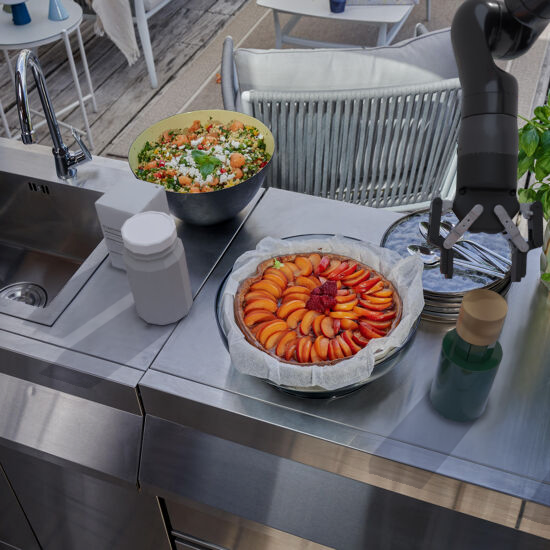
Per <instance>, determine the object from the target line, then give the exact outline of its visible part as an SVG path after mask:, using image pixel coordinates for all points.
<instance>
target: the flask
mask: <svg viewBox="0 0 550 550" xmlns="http://www.w3.org/2000/svg"><path fill="white" fill-rule="evenodd" d="M503 351H504V350H503V347H502V344H501V342H500V341H499V339H498V340H497V341H496V342H494V343H493V344H490V345H486V346H478V345H473V344H471V343H468V342H466V341H465V340H463V339H462V338H461V337H460V336H459V334H458V332H457V330H456V327H454V328H452V329H450V330H449V331H448V332H446V333H445V335H444V337H442V342H441V346H440V349H439V354H438V357H437V362H436V366H435V371H434V374H433V378H432V383H431V388H430V392H429V399H430V403H431V405H432V407H433V408H434V410H435V411H436V412H437V413H438V414H439V415H440V416H442V417H443V418H446V419H447V420H449V421H453V422H458V423H468V422H472V421H475V420H477V419H478V418H480V417H481V416H482V415H483V413H484V411H485V409H486V406H487V403H488V400H489V398H490V394H491V392H492V389H493V386H494V384H495V381H496V378H497V374H498V372H499V369H500V366H501V364H502V360H503V356H504V352H503Z"/></svg>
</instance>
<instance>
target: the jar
mask: <svg viewBox="0 0 550 550" xmlns="http://www.w3.org/2000/svg"><path fill="white" fill-rule="evenodd" d="M121 233H122V238H123V242H124V246H125V248H124V250H123V251H122V254H123V259H124V264H125V267H126V270H125V272H126V275H127V279H128V282H129V287H130V291H131V293H132V298H133V302H134V305H135V309H136V313H137V316H138V317H140V318H141V319H142V320H144V321H145V322H146V323H148V324H153V325H157V326H158V325H160V326H165V325H170V324H174V323H177V322H178V321H180V320H181V319H182V318H184V317H185V316H187V314H189V313H190V310H191V308H192V305H193V303H194V299H193V292H192V287H191V281H190V276H189V270H188V264H187V258H186V252H185V248H184V244H183V242H182V239H181V238H180V237H178V232H177V226H176V223H175V220H174V217H172V216H171V215H170V216H169V215H167V214H166V213H164V212H156V211H148V212H143V213H138V214H136V215H134V216H133V217H131V218H129V219H128V220H126V221H125V223H124V225H123V226H122V228H121Z"/></svg>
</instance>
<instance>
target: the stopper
mask: <svg viewBox="0 0 550 550" xmlns="http://www.w3.org/2000/svg"><path fill="white" fill-rule="evenodd" d="M508 310H509V305H508V303H507V301H506V299H505V298H504V297H503V295H500V294H499V293H498V292H496V291H493V290H491V289H486V288H475V289H471V290H470V291H467V292H466V293H465V294H464V295H463V296H462V299H461V303H460V308H459V310H458V315H457V319H456V323H455V328H456V330H457V332H458V334H459V336H460V337H461V338H462V339H463V340H465V341H466V342H468V343H471V344H473V345H478V346H486V345H490V344H493V343H494V342H496V341H497V340H498V341H499V338H500V337H501V332H502V330H503V327H504V323H505V321H506V317H507V315H508Z"/></svg>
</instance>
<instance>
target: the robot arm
mask: <svg viewBox="0 0 550 550" xmlns="http://www.w3.org/2000/svg"><path fill="white" fill-rule="evenodd" d="M549 24H550V0H464V1H463V2H462V3H461V4H460V5H459V7H458V8H457V9H456V11H455V12H454V15H453V18H452V20H451V25H450V33H449V34H450V47H451V52H452V55H453V59H454V64H455V66H456V71H457V77H458V81H459V85H460V89H461V108H460V109H461V111H460V123H459V130H458V136H457V147H456V179H455V195H454V197H453V199H451V200H449V199H443V198H441V197H439V196H437V197H435V198H433V199H432V200H431V201H430V204H429V211H428V221H427V222H428V223H427V231H426V243H427V244H428V245H431V246H434V247H437V248H438V250H439V251H440V252H439V254H440V255H439V273H440V275H443V276H444V279H445V280H452V279H453V278H454V258H455V257H454V256H455V250H454V249H453V247H454V246H455V244H456V243H457V242H458V241H459V240H460V238H461V237H462V236H463V235H464V234H465V233H466V232H467V233H469V234H473V235H477V234H481V233H483V234H486V235H498V234H501V235H500V236H502V238H503V239H504V240H505V241H506V242H507V243H508V244H509V246H510V247H511V248H512V250H513V253H511V266H510V282H511V283H521V282H522V279H525V278H526V275H527V269H528V268H527V266H528V253H529V252H530V251H532V250H536V249H540V248H542V247H543V246H544V244H545V242H544V241H545V240H544V239H545V238H544V237H545V235H544V205H543V202H542V201H540V200H535V201H533V202H519V200H518V194H517V193H518V192H517V191H518V174H519V173H518V171H519V148H520V147H519V145H520V135H519V134H520V133H519V125H518V124H519V123H518V120H519V119H518V118H519V92H520V91H519V90H520V89H519V88H520V87H519V82H518V79H517V77H516V76H515V75H514V74H512V73H510V72H508V71H506V70H505V69H502V68H501V67H499V66H498V65H497V64H496V62H495V60H496V61H502V62H507V61H508V62H509V61H512V60H516V59H519V58H520V57H522V56H524V55H526V54H527V53H528V52H529V51H530V50H531V49H532V47H533V46H534V44H536V42H537V40H539V38H540V37H541V35H542V34H543V33H544V31H545V30H546V29H547V28H548V26H549ZM449 209H450V210H451V212H452V213H453V215H455V217H456V219H457V220H458V221H457V223H456V224H455V225H454V226H453V227H452V229H450V231H449V232H448V234H447V235H446V236H445V237H442V236H440V233H441V223H442V222H441V220H442V217H444V216H445V215H447V213H448V210H449ZM519 212H520V213H521V214H522V217H523V219H525V220H527V240H525V238H524V236H523V235H522V234H521V231H520V229H519V228H518V226H517V225H516V223H514V221H513V220H514V218H515V217H516V216H517V215H518V214H519Z"/></svg>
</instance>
